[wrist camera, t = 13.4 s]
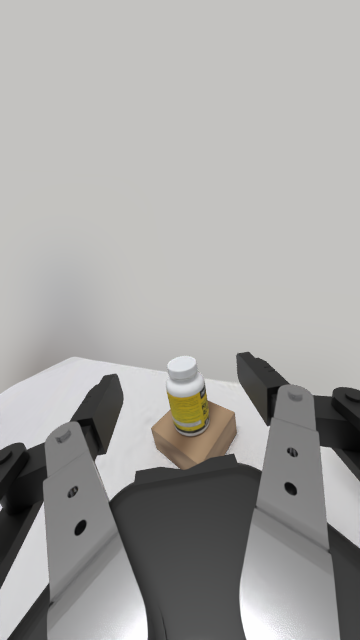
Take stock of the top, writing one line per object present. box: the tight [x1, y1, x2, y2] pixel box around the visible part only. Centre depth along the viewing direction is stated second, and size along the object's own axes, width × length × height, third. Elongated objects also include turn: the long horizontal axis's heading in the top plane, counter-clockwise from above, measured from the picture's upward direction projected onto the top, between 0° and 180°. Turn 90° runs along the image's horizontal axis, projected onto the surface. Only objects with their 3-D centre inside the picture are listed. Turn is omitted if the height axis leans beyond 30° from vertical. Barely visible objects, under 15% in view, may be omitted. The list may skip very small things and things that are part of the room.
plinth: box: [151, 400, 237, 470], centre depth 26 cm, size 9×9×4 cm
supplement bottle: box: [166, 356, 210, 436], centre depth 25 cm, size 5×5×10 cm
